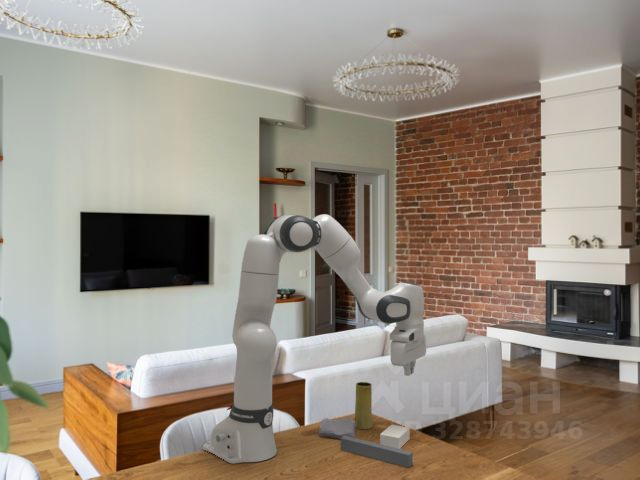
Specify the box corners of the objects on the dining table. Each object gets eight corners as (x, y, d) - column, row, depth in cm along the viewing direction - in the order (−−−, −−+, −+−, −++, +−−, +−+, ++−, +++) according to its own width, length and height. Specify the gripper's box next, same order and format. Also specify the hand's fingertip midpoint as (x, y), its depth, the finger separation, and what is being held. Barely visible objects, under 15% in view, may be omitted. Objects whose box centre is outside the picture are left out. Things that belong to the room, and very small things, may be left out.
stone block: (355, 446, 172) (356, 428, 181) (354, 432, 171) (355, 415, 180) (317, 445, 173) (320, 428, 182) (316, 431, 172) (319, 415, 181)
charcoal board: (340, 449, 163) (340, 438, 163) (344, 447, 166) (345, 435, 166) (408, 467, 151) (409, 455, 151) (412, 464, 153) (412, 452, 153)
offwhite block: (379, 447, 166) (380, 434, 166) (391, 436, 175) (391, 424, 175) (398, 451, 164) (398, 438, 163) (409, 440, 172) (409, 427, 172)
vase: (360, 422, 188) (360, 380, 187) (375, 425, 184) (376, 383, 184) (350, 427, 183) (351, 384, 183) (366, 431, 179) (367, 387, 179)
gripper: (413, 326, 188) (413, 366, 188) (387, 335, 171) (386, 379, 171) (431, 328, 184) (430, 369, 184) (405, 337, 167) (405, 382, 167)
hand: (409, 374), depth 177 cm, fingers closed
